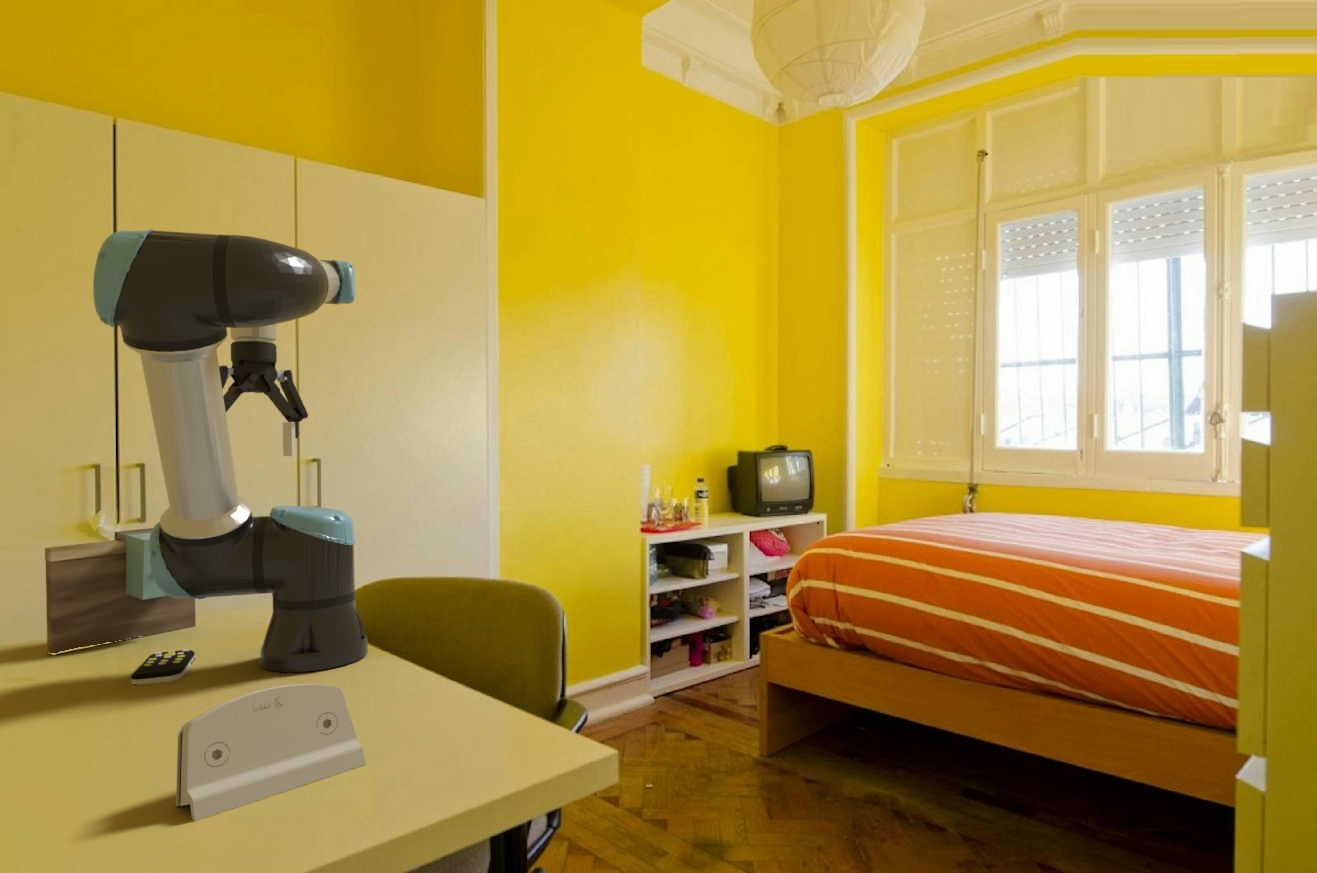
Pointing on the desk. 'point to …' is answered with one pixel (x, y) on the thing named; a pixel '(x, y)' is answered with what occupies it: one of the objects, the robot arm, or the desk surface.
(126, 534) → the cabinet
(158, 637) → the desk surface
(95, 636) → the wall board
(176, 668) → the remote control
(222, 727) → the grey mounting bracket
